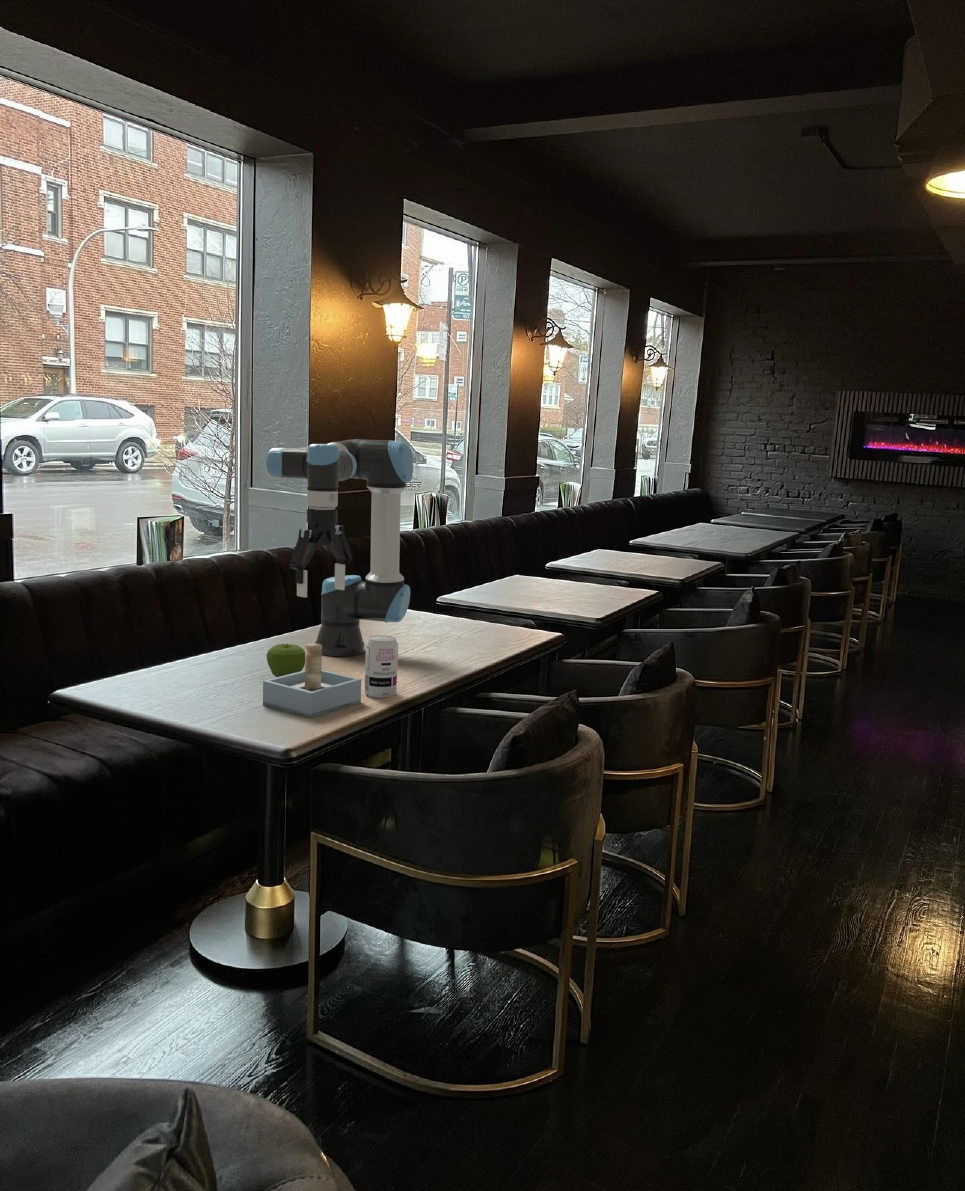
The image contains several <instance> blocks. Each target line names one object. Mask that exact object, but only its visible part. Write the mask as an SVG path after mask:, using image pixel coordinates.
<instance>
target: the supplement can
mask: <svg viewBox="0 0 965 1191" xmlns="http://www.w3.org/2000/svg"><path fill="white" fill-rule="evenodd" d="M398 655H399V643H398V642H397V638H396V637H394V636H392V635H382V634H379V635H371V636H369V637H368V639H367V641H366V643H365V665H364V666H365V667H364V668H365V669H364V693H365V695H367V696H368V697H369V698H375V699H387V698H391V697H394V696H395V695H396V693H397V688H398V687H397V686H398V683H397V682H398V662H399V660H398V659H399V658H398V657H399V656H398Z"/></svg>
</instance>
